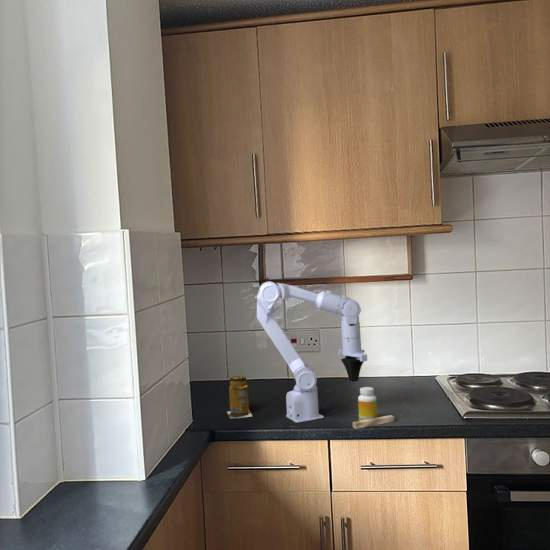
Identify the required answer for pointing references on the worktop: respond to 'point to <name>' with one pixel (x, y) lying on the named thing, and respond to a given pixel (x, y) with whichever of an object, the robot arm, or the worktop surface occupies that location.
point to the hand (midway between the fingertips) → (353, 380)
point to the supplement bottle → (367, 404)
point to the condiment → (238, 398)
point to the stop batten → (373, 421)
